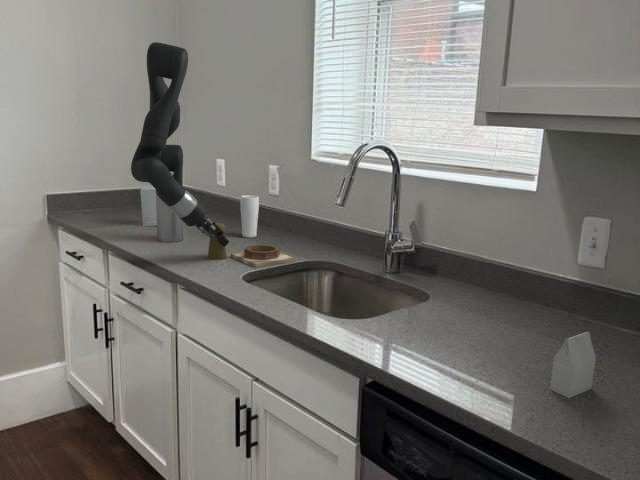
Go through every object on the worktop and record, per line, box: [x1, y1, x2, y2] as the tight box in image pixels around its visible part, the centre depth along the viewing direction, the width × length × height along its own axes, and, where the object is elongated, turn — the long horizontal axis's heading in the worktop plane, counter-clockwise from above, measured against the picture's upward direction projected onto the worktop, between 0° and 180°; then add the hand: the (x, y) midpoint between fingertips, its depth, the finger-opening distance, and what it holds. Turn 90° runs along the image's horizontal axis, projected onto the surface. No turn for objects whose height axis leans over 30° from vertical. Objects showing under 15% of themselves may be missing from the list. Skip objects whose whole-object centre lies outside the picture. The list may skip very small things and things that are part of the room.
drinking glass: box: [239, 194, 260, 239], centre depth 213 cm, size 7×7×15 cm
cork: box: [207, 222, 228, 261], centre depth 182 cm, size 6×6×11 cm
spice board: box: [230, 244, 295, 269], centre depth 182 cm, size 15×14×4 cm
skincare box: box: [139, 186, 157, 227], centre depth 228 cm, size 8×6×15 cm
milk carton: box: [549, 331, 597, 399], centre depth 101 cm, size 4×7×10 cm, turn 125°
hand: (222, 242), depth 183 cm, fingers closed on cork, 4 cm apart
